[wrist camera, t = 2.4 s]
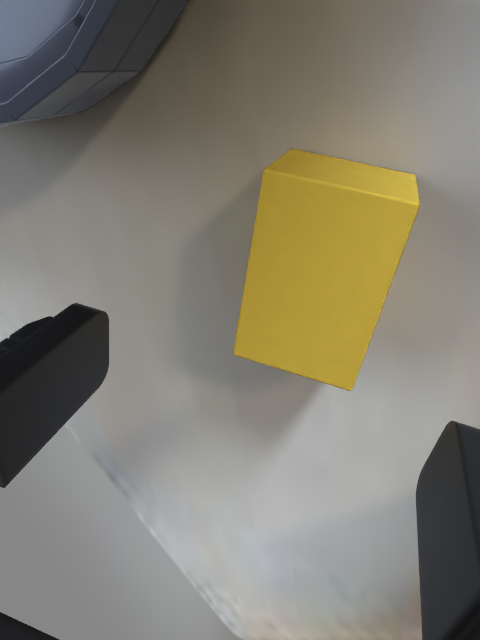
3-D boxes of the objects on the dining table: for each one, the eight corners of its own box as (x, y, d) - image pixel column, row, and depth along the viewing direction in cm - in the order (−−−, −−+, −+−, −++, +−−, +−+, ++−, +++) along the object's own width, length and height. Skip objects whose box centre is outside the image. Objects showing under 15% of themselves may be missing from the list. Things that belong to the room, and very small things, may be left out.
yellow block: (290, 147, 16) (262, 168, 13) (416, 174, 16) (421, 203, 12) (259, 308, 20) (232, 355, 17) (359, 336, 19) (351, 392, 16)
